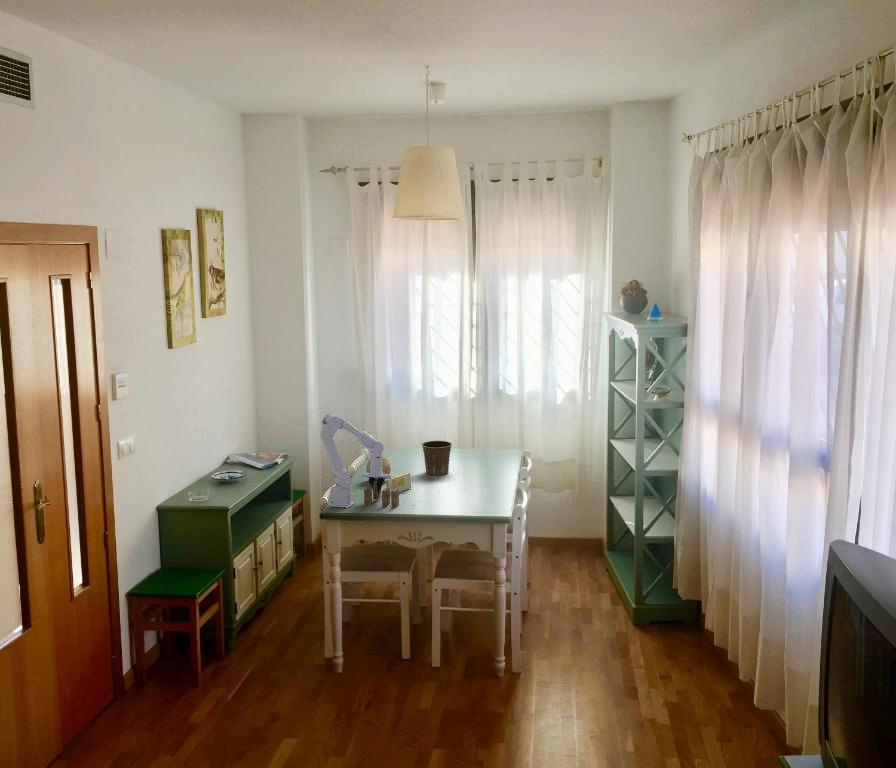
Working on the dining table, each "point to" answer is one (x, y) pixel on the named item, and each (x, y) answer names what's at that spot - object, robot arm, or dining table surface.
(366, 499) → the end tile
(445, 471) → the plant pot
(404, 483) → the candy box
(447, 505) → the dining table surface
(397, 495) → the far tile
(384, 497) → the middle tile
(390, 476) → the robot arm
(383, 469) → the fossilized egg
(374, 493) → the tile
